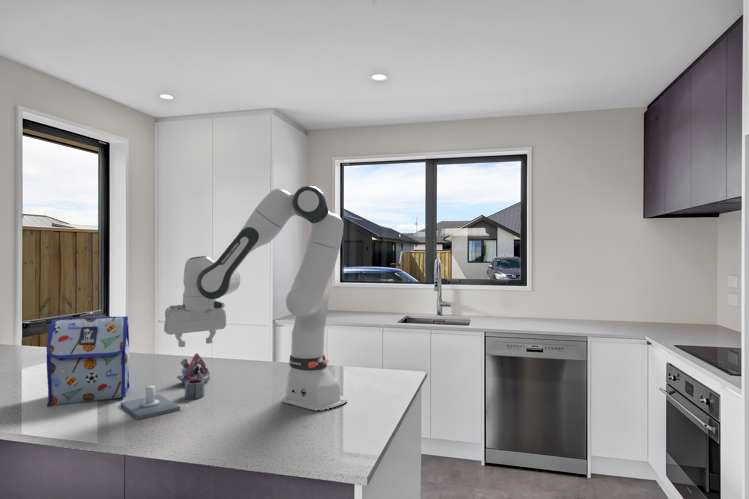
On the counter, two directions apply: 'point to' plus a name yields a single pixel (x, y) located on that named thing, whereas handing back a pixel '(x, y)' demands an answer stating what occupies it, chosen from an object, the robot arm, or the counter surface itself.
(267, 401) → the counter surface
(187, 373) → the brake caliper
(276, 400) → the counter surface
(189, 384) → the hub ring
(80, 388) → the lunch bag
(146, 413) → the post block
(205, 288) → the robot arm
